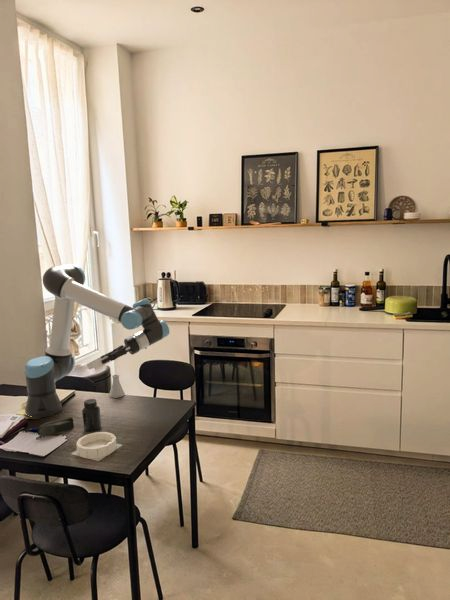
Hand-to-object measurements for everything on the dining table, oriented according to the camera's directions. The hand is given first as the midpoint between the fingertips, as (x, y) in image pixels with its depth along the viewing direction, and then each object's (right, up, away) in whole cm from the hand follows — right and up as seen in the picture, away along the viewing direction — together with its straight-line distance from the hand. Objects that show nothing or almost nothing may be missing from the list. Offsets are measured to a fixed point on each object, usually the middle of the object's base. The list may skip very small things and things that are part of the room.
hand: (90, 366), depth 193 cm
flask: (+3, -19, +32) cm, 38 cm away
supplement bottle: (+2, -25, -5) cm, 25 cm away
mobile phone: (-12, -26, -7) cm, 29 cm away
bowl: (+9, -27, -22) cm, 36 cm away
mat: (+9, -27, -22) cm, 36 cm away
